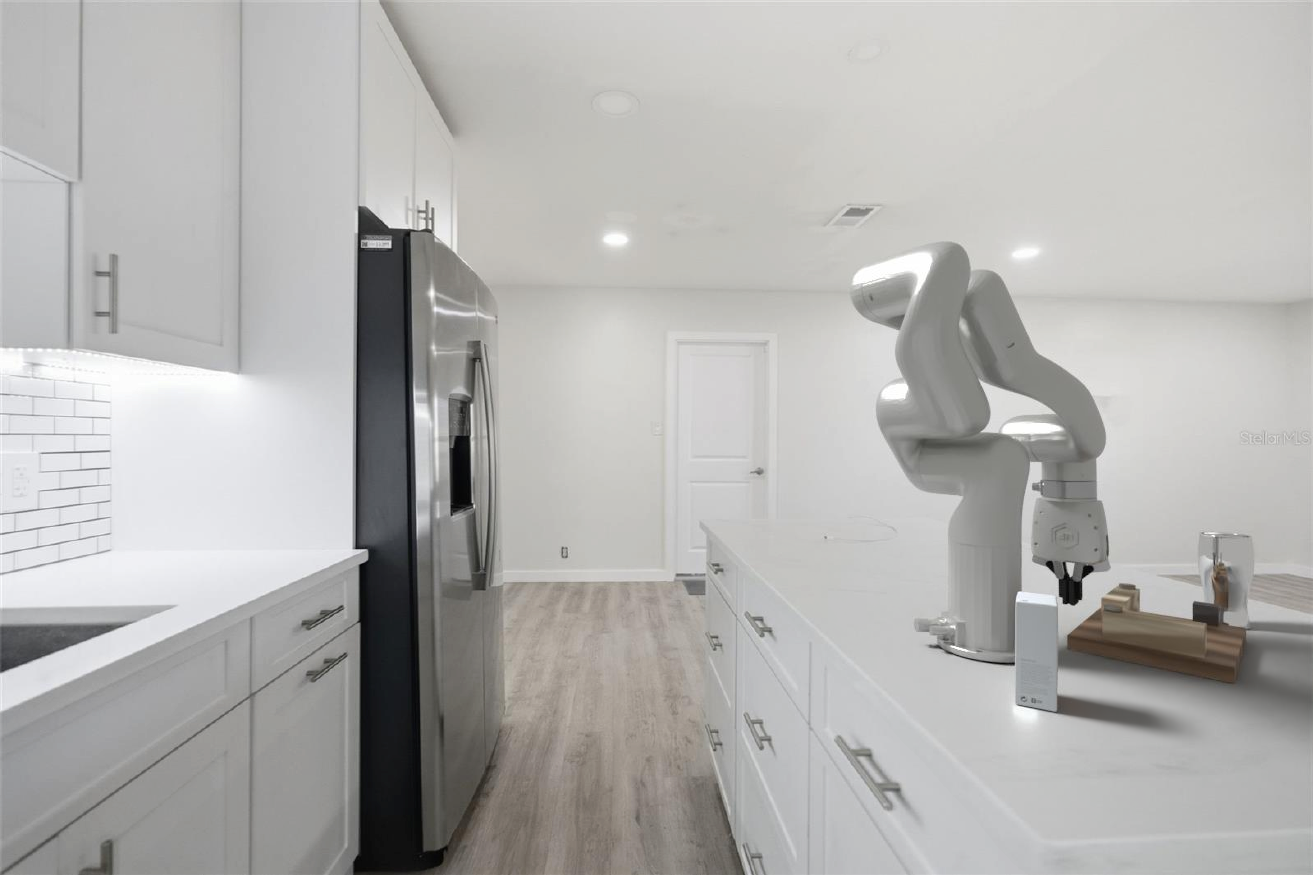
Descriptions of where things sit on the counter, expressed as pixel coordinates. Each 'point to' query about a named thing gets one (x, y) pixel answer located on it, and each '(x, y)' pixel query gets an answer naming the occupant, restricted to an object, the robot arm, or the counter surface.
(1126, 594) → the hinged leg
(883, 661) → the counter surface
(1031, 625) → the skincare box
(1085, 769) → the counter surface
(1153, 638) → the stool frame
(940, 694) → the counter surface
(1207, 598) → the beer glass
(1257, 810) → the counter surface
